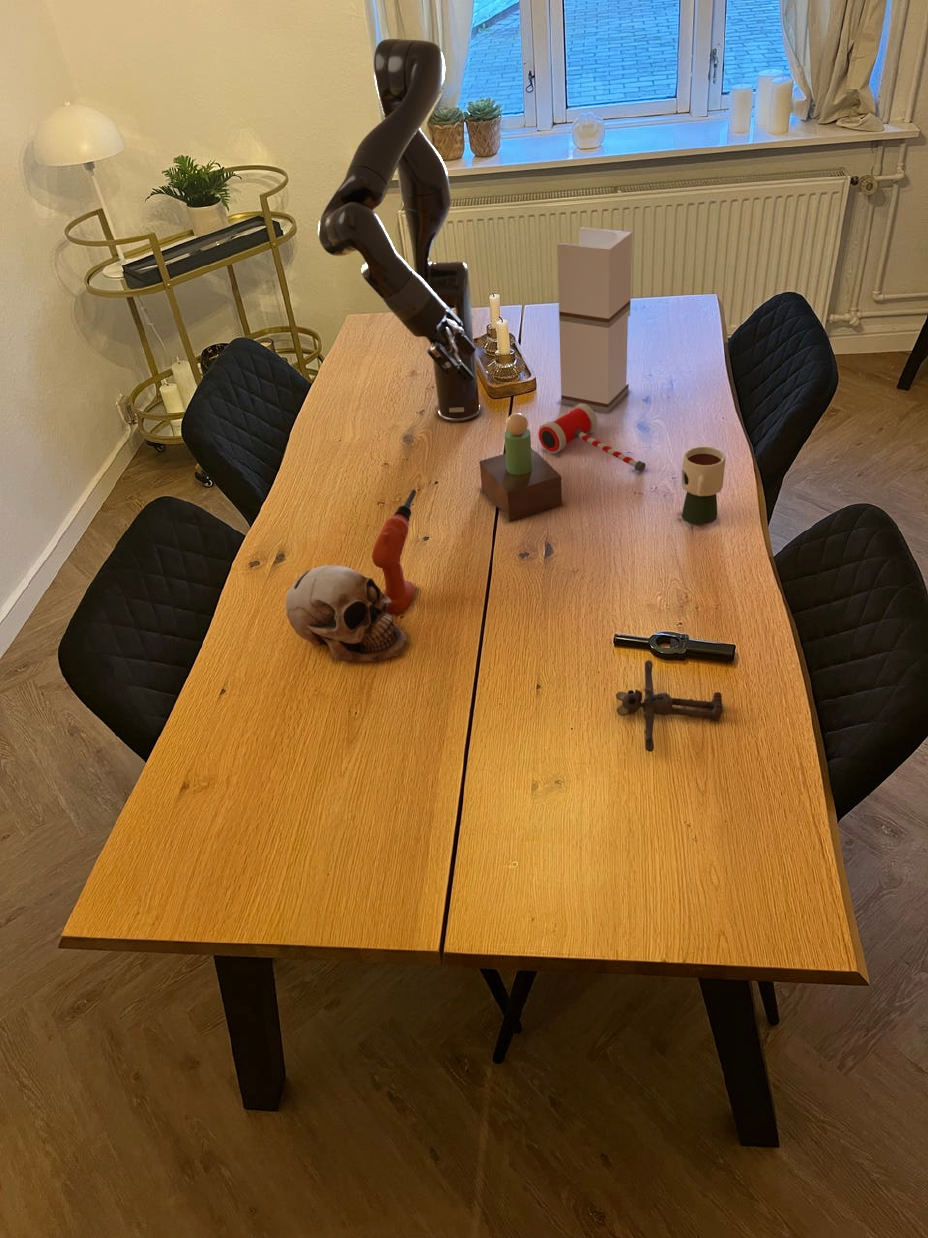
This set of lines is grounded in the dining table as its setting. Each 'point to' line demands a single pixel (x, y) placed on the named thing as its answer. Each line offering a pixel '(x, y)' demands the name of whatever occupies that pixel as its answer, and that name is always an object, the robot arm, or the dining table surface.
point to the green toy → (518, 445)
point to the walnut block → (521, 487)
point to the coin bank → (344, 614)
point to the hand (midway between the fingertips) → (471, 366)
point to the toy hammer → (578, 434)
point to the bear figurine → (664, 705)
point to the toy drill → (395, 557)
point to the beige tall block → (594, 317)
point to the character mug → (702, 483)
